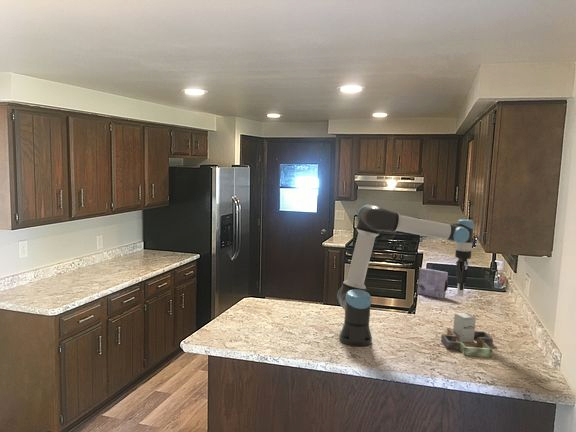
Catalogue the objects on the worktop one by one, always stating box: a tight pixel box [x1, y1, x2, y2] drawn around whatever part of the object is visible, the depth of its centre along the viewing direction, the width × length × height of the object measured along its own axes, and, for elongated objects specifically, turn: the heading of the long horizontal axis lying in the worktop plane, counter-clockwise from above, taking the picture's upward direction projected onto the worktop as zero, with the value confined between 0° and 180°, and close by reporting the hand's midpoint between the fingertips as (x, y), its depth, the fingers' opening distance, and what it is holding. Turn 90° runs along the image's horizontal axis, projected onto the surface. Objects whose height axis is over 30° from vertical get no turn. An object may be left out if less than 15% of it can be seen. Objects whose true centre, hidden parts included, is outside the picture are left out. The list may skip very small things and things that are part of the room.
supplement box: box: [452, 312, 477, 343], centre depth 237 cm, size 7×7×13 cm
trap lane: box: [440, 328, 494, 358], centre depth 229 cm, size 24×27×4 cm
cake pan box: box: [416, 267, 449, 299], centre depth 323 cm, size 19×5×18 cm, turn 58°
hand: (459, 295), depth 245 cm, fingers closed
